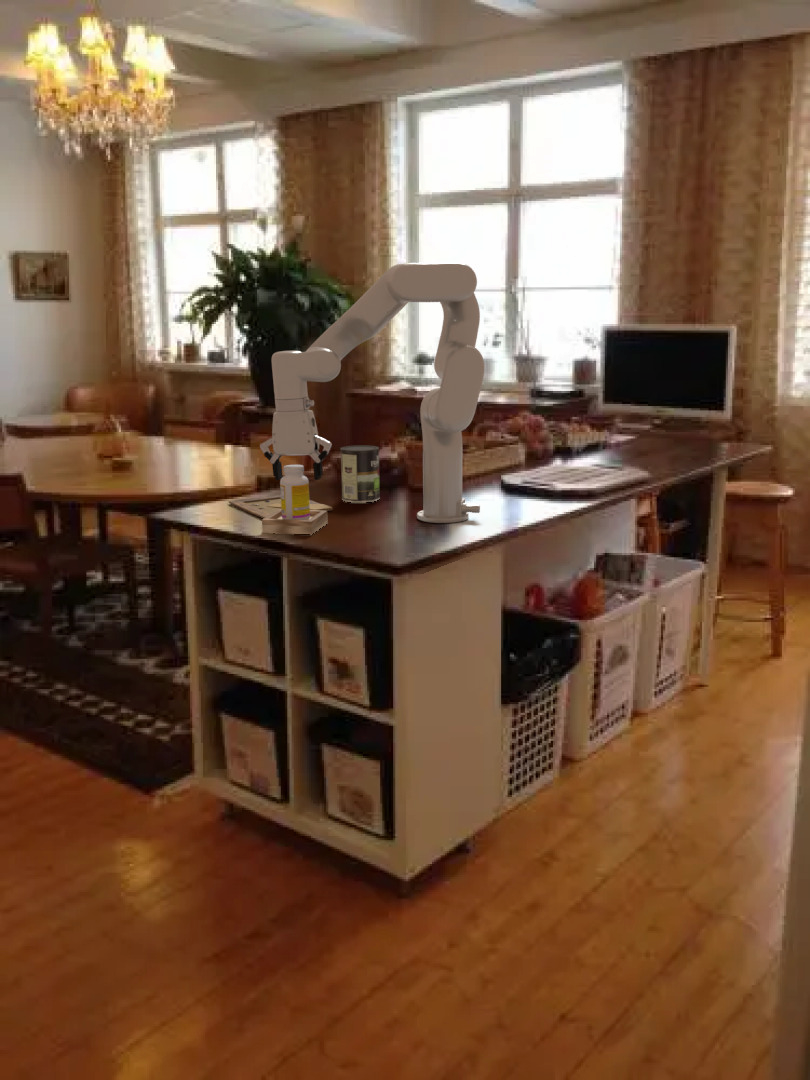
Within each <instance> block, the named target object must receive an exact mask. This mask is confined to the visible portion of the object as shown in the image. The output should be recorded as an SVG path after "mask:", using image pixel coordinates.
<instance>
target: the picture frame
mask: <svg viewBox="0 0 810 1080" xmlns="http://www.w3.org/2000/svg"><path fill="white" fill-rule="evenodd" d="M228 504H229V506H231V507H234V508H236V509H238V510H240V511H242V512H245V513H247V514H248V513H249V514H251V515H254V516H257V517H258V516H259V517H258V518H260V517H261V518H260V519H262V518H263V519H264V518H265V517H267V516H269V515H271V514H272V513H274V512H276V511H277V510H279V509H281V494H277V495H269V496H268V495H267V496H259V497H252V498H251V497H250V498H244V499H236V500H235V499H234V500H228ZM309 504H310V510H323V511H330V512H331V511H333V507H332V506H329V505H327V504H323V503H319V502H316V501H314V500H311V499H309Z"/></svg>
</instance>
